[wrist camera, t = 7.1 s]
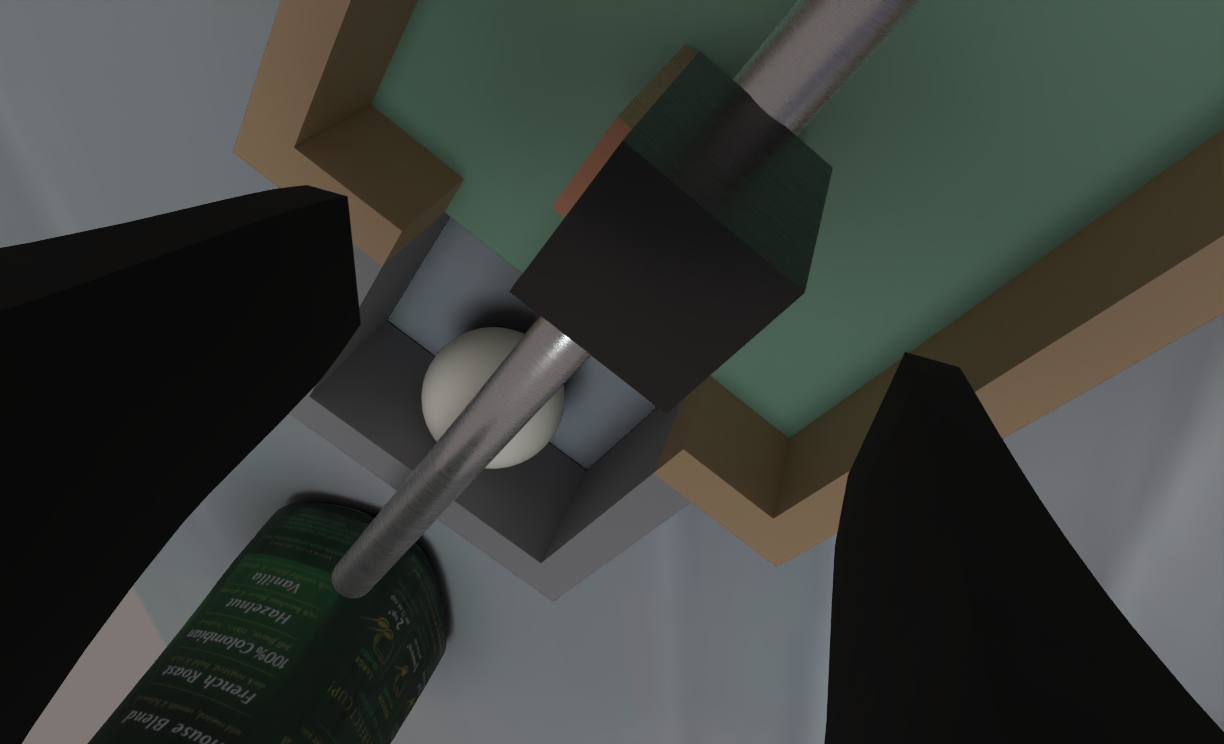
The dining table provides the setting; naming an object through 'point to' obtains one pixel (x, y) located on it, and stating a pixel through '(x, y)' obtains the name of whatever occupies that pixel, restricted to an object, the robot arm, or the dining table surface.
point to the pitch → (844, 252)
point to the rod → (659, 248)
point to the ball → (463, 376)
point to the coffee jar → (293, 647)
